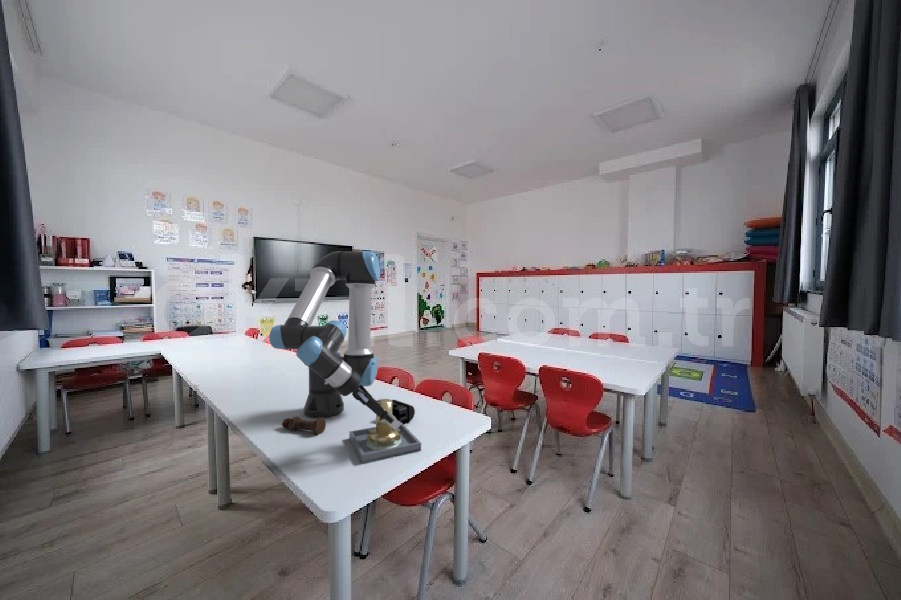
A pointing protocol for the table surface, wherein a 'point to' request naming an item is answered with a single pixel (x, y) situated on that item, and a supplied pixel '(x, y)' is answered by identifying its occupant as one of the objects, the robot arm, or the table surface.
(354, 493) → the table surface
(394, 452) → the carrier tray
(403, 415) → the end cap
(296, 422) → the bolt
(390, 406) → the toothed flange peg
